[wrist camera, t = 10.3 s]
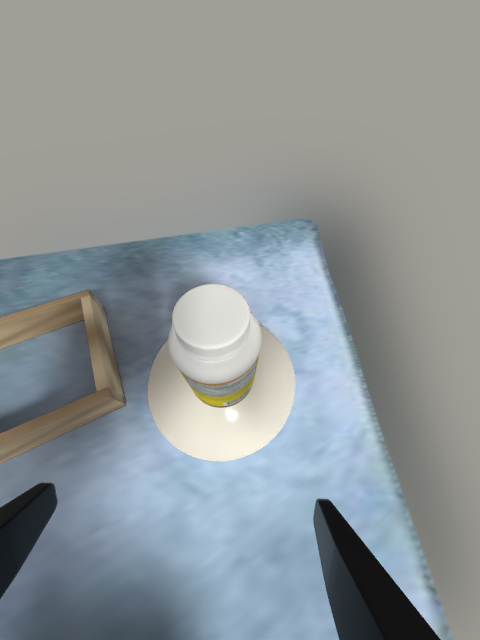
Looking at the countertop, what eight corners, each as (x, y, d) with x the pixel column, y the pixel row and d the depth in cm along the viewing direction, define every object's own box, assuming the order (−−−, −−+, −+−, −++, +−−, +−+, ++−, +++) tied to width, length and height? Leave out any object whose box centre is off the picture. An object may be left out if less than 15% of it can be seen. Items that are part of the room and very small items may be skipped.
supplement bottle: (205, 341, 22) (184, 262, 13) (260, 358, 21) (278, 285, 12) (180, 397, 19) (131, 343, 10) (242, 419, 18) (248, 381, 9)
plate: (307, 455, 17) (309, 455, 17) (137, 466, 17) (133, 467, 16) (281, 316, 24) (282, 312, 24) (160, 321, 24) (158, 317, 23)
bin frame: (126, 404, 19) (109, 396, 17) (-37, 480, 16) (-88, 484, 14) (103, 306, 25) (88, 289, 22) (-22, 350, 22) (-56, 335, 19)
